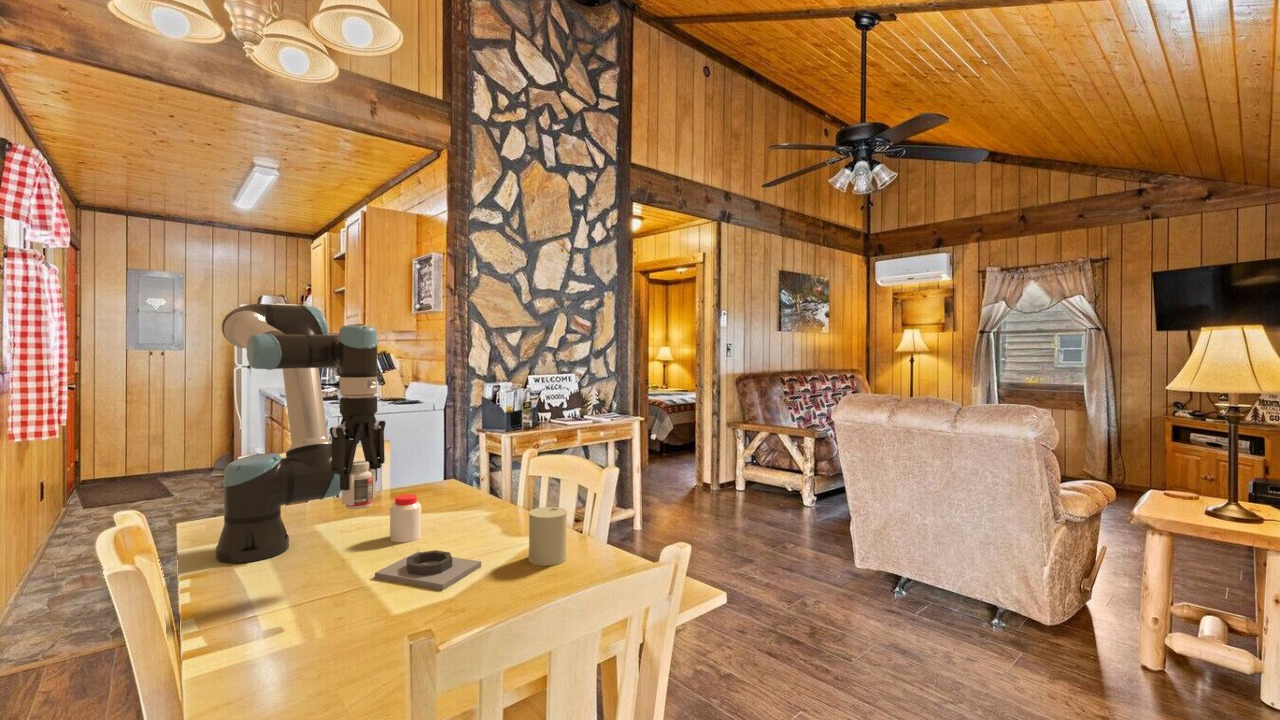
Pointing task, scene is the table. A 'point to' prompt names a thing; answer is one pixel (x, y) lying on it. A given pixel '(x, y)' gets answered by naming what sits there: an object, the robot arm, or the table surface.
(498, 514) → the table surface
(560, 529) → the can
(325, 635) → the table surface
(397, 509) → the pill bottle
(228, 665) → the table surface
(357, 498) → the pill bottle
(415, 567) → the collar plate
